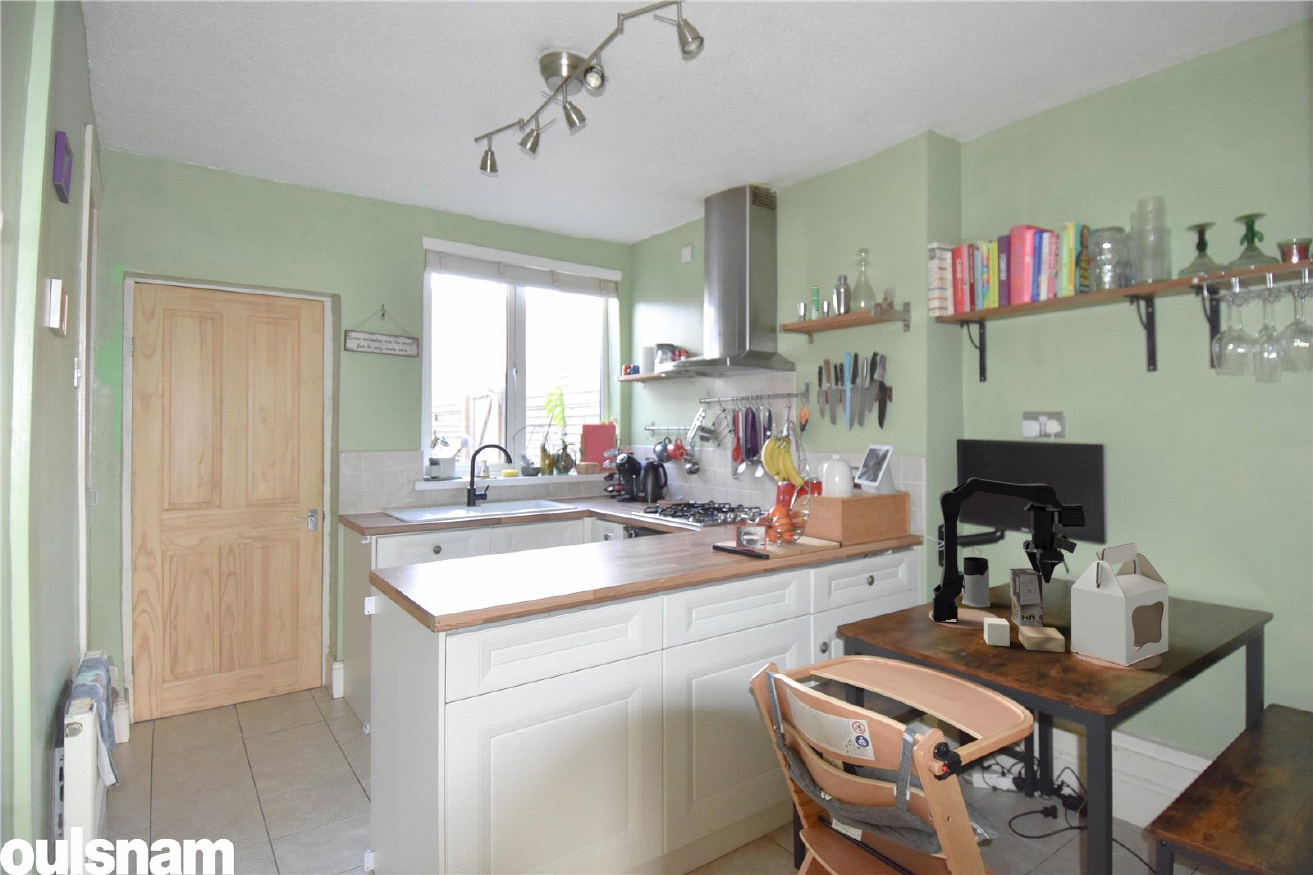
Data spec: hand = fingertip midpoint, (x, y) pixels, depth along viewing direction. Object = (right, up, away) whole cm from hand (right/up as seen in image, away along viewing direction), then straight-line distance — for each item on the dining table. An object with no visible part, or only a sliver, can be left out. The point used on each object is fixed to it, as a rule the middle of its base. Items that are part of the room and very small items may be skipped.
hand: (1042, 579), depth 197 cm
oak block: (-9, -15, -15) cm, 23 cm away
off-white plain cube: (-20, -15, -12) cm, 28 cm away
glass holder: (-9, -14, +28) cm, 32 cm away
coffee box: (-3, -14, +3) cm, 15 cm away
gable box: (+8, -15, -21) cm, 27 cm away
